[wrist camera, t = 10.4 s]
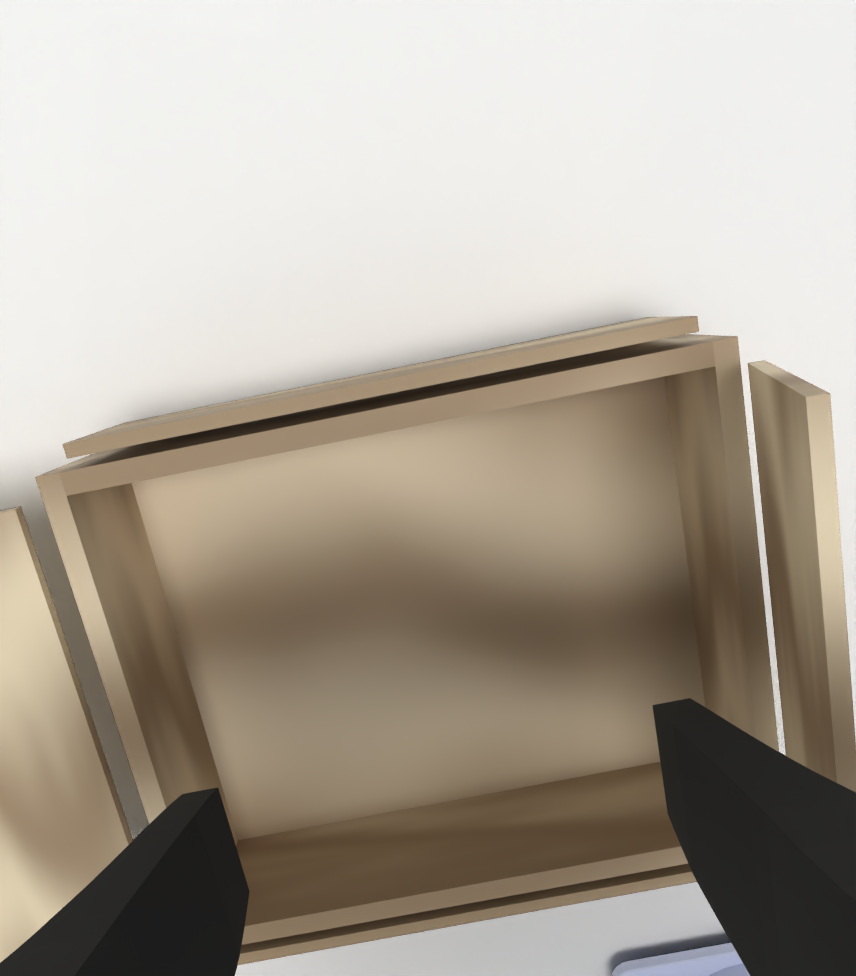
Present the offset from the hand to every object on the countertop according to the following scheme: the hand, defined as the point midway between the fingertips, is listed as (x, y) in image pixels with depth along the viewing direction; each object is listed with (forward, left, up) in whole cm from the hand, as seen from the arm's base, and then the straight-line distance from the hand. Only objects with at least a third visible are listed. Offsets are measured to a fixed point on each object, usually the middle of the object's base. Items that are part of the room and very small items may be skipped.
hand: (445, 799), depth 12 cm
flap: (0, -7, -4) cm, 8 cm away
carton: (0, 0, -8) cm, 8 cm away
